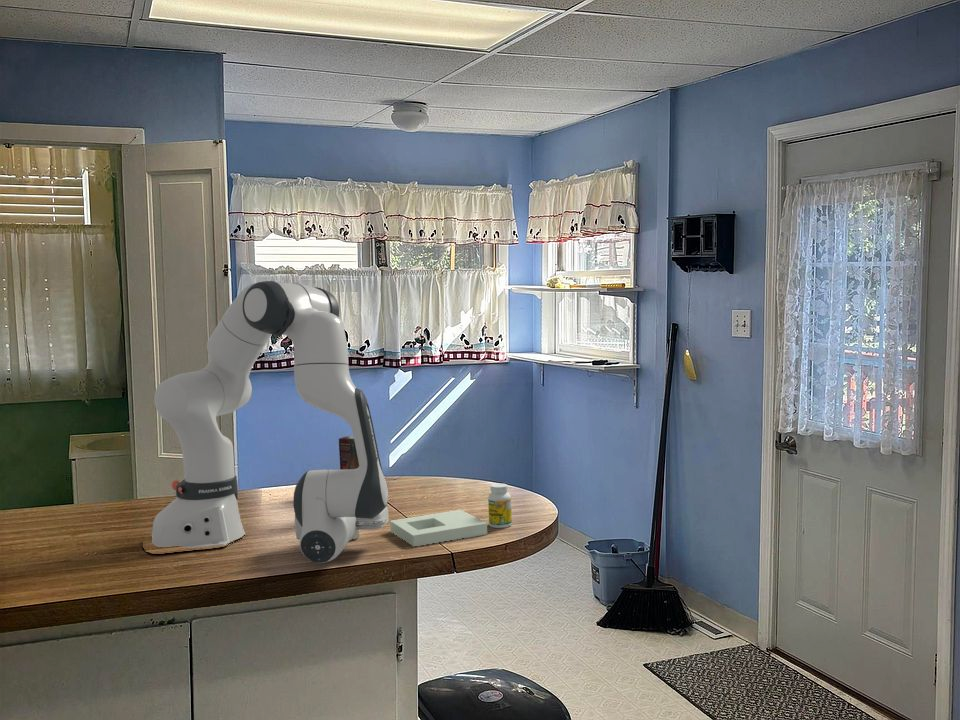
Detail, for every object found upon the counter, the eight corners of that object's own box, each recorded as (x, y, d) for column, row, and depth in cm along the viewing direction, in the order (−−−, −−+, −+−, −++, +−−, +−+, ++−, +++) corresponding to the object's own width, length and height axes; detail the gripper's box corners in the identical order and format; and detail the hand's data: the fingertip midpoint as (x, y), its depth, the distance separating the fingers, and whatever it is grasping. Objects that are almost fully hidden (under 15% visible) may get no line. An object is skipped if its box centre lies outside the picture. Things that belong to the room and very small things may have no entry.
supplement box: (376, 495, 248) (374, 437, 247) (365, 499, 244) (362, 440, 243) (351, 492, 253) (349, 435, 251) (340, 496, 249) (337, 438, 247)
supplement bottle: (515, 523, 217) (514, 483, 216) (505, 529, 212) (504, 488, 211) (495, 521, 220) (494, 481, 219) (484, 527, 215) (483, 486, 214)
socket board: (413, 547, 201) (413, 535, 201) (390, 531, 213) (390, 520, 213) (487, 534, 209) (486, 523, 209) (460, 520, 221) (460, 509, 221)
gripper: (383, 509, 195) (393, 493, 208) (287, 510, 196) (304, 494, 210) (384, 538, 195) (394, 520, 209) (289, 539, 196) (305, 521, 210)
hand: (348, 507), depth 209 cm, fingers closed on peg, 5 cm apart
